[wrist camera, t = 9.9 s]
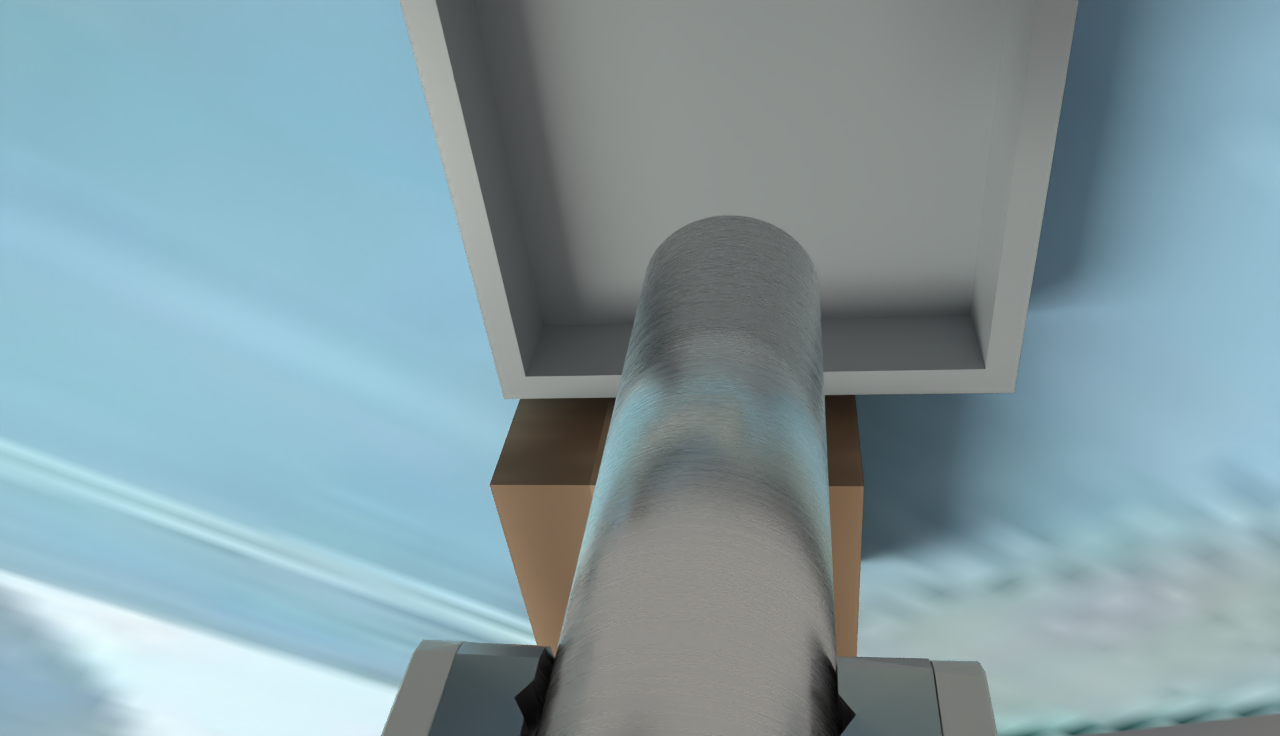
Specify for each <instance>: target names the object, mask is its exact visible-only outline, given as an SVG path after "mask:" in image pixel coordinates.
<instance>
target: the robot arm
mask: <svg viewBox="0 0 1280 736" xmlns="http://www.w3.org/2000/svg"><path fill="white" fill-rule="evenodd" d="M554 660H555V657H554V654H553V651H552V648H551V646H536V645H516V644H497V643H478V642H466V641H444V640H422V642H421V643H420V644H419V646H418V647H417V648H416V650H415V651H414V652H413V654H412V656H411V659H410V662H409V664H408V667H407V669H406V672H405V675H404V677H403V680H402V682H401V685H400V688H399V690H398V693H397V695H396V698H395V701H394V703H393V706H392V708H391V711H390V714H389V716H388V719H387V722H386V724H385V727H384V729H383V732H382V735H381V736H537V732H538V728H539V724H540V720H541V715H542V711H543V707H544V703H545V698H546V694H547V690H548V686H549V681H550V677H551V673H552V669H553V664H554ZM835 679H836V706H837V726H838V730H839V735H840V736H998V734H997V729H996V724H995V719H994V714H993V709H992V703H991V698H990V693H989V688H988V683H987V678H986V673H985V671H984V669H983V668H982V666H981V664H980V663H979V662H978V661H936V660H930V661H929V659H921V658H878V657H836V664H835Z"/></svg>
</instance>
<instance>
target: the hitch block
mask: <svg viewBox="0 0 1280 736" xmlns="http://www.w3.org/2000/svg"><path fill="white" fill-rule="evenodd" d="M615 401H616V398H539V399H520V401H519V404H518V407H517V409H516V412H515V415H514V418H513V421H512V424H511V426H510V429H509V432H508V435H507V438H506V440H505V443H504V446H503V449H502V452H501V455H500V457H499V460H498V463H497V466H496V469H495V472H494V474H493V477H492V480H491V483H490V487H491V491H492V494H493V497H494V501H495V504H496V508H497V511H498V514H499V518H500V521H501V525H502V528H503V531H504V535H505V538H506V541H507V545H508V548H509V552H510V555H511V558H512V562H513V565H514V569H515V572H516V575H517V579H518V582H519V586H520V589H521V592H522V596H523V599H524V602H525V606H526V609H527V613H528V616H529V619H530V623H531V626H532V630H533V633H534V636H535V640H536V643H537V646H551V648H552V651H553V654H554V657H555V656H556V652H557V647H558V643H559V639H560V635H561V630H562V626H563V622H564V618H565V613H566V609H567V605H568V601H569V596H570V592H571V588H572V584H573V579H574V575H575V571H576V567H577V562H578V558H579V554H580V550H581V545H582V541H583V537H584V533H585V528H586V524H587V520H588V516H589V511H590V507H591V503H592V499H593V494H594V490H595V486H596V482H597V477H598V473H599V469H600V465H601V460H602V456H603V452H604V448H605V443H606V439H607V435H608V431H609V426H610V422H611V418H612V414H613V409H614V405H615ZM825 416H826V438H827V459H828V481H829V503H830V524H831V546H832V568H833V589H834V611H835V633H836V655H837V657H857V634H858V611H859V588H860V565H861V542H862V519H863V495H864V482H863V472H862V462H861V452H860V442H859V432H858V422H857V411H856V401H855V395H825Z"/></svg>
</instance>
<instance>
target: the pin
mask: <svg viewBox="0 0 1280 736" xmlns="http://www.w3.org/2000/svg"><path fill="white" fill-rule="evenodd" d="M836 657H837V655H836V633H835V611H834V589H833V568H832V546H831V524H830V503H829V481H828V459H827V438H826V416H825V394H824V373H823V351H822V329H821V308H820V288H819V279H818V275H817V271H816V269H815V266H814V264H813V261H812V260H811V258H810V256H809V255H808V253H807V252H806V251H805V249H804V248H803V247H802V246H801V244H800V243H799V242H797V241H796V240H795V239H794V238H793V237H792V236H791V235H789V234H788V233H786V232H785V231H784V230H782V229H780V228H778V227H776V226H775V225H773V224H770V223H768V222H765V221H762V220H759V219H755V218H751V217H745V216H738V215H723V216H713V217H709V218H704V219H701V220H698V221H695V222H692V223H690V224H688V225H686V226H684V227H682V228H680V229H678V230H677V231H675V232H674V233H672V234H671V235H670V236H669V237H668V238H667V239H665V240H664V241H663V242H662V244H661V245H660V246H659V247H658V248H657V249H656V251H655V253H654V254H653V256H652V257H651V259H650V262H649V264H648V266H647V270H646V274H645V278H644V282H643V286H642V290H641V295H640V299H639V303H638V307H637V312H636V316H635V320H634V324H633V329H632V333H631V337H630V341H629V346H628V350H627V354H626V358H625V363H624V367H623V371H622V375H621V380H620V384H619V388H618V392H617V397H616V401H615V405H614V409H613V414H612V418H611V422H610V426H609V431H608V435H607V439H606V443H605V448H604V452H603V456H602V460H601V465H600V469H599V473H598V477H597V482H596V486H595V490H594V494H593V499H592V503H591V507H590V511H589V516H588V520H587V524H586V528H585V533H584V537H583V541H582V545H581V550H580V554H579V558H578V562H577V567H576V571H575V575H574V579H573V584H572V588H571V592H570V596H569V601H568V605H567V609H566V613H565V618H564V622H563V626H562V630H561V635H560V639H559V643H558V647H557V652H556V656H555V660H554V664H553V669H552V673H551V677H550V681H549V686H548V690H547V694H546V698H545V703H544V707H543V711H542V715H541V720H540V724H539V728H538V732H537V736H840V735H839V730H838V726H837V706H836V679H835V664H836Z"/></svg>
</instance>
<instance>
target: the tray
mask: <svg viewBox="0 0 1280 736" xmlns="http://www.w3.org/2000/svg"><path fill="white" fill-rule="evenodd" d="M1078 2H1079V0H400V3H401V7H402V11H403V15H404V19H405V22H406V26H407V30H408V34H409V38H410V41H411V45H412V49H413V53H414V57H415V61H416V64H417V68H418V72H419V76H420V80H421V83H422V87H423V91H424V95H425V99H426V103H427V106H428V110H429V114H430V118H431V122H432V125H433V129H434V133H435V137H436V141H437V145H438V148H439V152H440V156H441V160H442V164H443V168H444V171H445V175H446V179H447V183H448V187H449V190H450V194H451V198H452V202H453V206H454V210H455V213H456V217H457V221H458V225H459V229H460V232H461V236H462V240H463V244H464V248H465V252H466V255H467V259H468V263H469V267H470V271H471V274H472V278H473V282H474V286H475V290H476V294H477V297H478V301H479V305H480V309H481V313H482V316H483V320H484V324H485V328H486V332H487V336H488V339H489V343H490V347H491V351H492V355H493V358H494V362H495V366H496V370H497V374H498V378H499V381H500V385H501V389H502V393H503V397H504V399H539V398H616V397H617V392H618V388H619V384H620V380H621V375H622V371H623V367H624V363H625V358H626V354H627V350H628V346H629V341H630V337H631V333H632V329H633V324H634V320H635V316H636V312H637V307H638V303H639V299H640V295H641V290H642V286H643V282H644V278H645V274H646V270H647V266H648V264H649V262H650V259H651V257H652V256H653V254H654V253H655V251H656V249H657V248H658V247H659V246H660V245H661V244H662V242H663V241H664V240H665V239H667V238H668V237H669V236H670V235H671V234H672V233H674V232H675V231H677V230H678V229H680V228H682V227H684V226H686V225H688V224H690V223H692V222H695V221H698V220H701V219H704V218H709V217H713V216H723V215H738V216H745V217H751V218H755V219H759V220H762V221H765V222H768V223H770V224H773V225H775V226H776V227H778V228H780V229H782V230H784V231H785V232H786V233H788V234H789V235H791V236H792V237H793V238H794V239H795V240H796V241H797V242H799V243H800V244H801V246H802V247H803V248H804V249H805V251H806V252H807V253H808V255H809V256H810V258H811V260H812V261H813V264H814V266H815V269H816V271H817V275H818V279H819V288H820V308H821V329H822V351H823V373H824V394H825V395H868V394H950V393H1014V390H1015V384H1016V378H1017V372H1018V366H1019V360H1020V353H1021V347H1022V341H1023V335H1024V329H1025V323H1026V317H1027V311H1028V305H1029V299H1030V293H1031V287H1032V281H1033V275H1034V269H1035V263H1036V257H1037V251H1038V245H1039V238H1040V232H1041V226H1042V220H1043V214H1044V208H1045V202H1046V196H1047V190H1048V184H1049V178H1050V172H1051V166H1052V160H1053V154H1054V148H1055V142H1056V136H1057V129H1058V123H1059V117H1060V111H1061V105H1062V99H1063V93H1064V87H1065V81H1066V75H1067V69H1068V63H1069V57H1070V51H1071V45H1072V39H1073V33H1074V27H1075V21H1076V14H1077V8H1078Z"/></svg>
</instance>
